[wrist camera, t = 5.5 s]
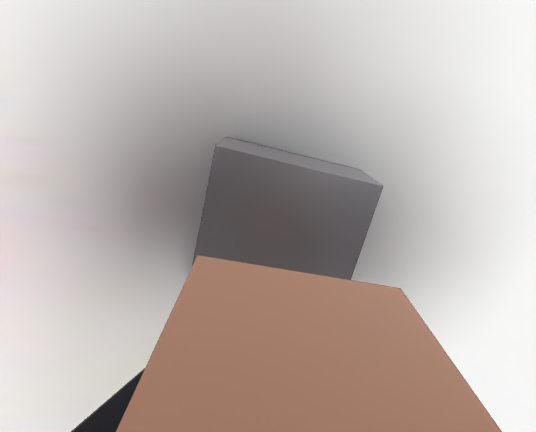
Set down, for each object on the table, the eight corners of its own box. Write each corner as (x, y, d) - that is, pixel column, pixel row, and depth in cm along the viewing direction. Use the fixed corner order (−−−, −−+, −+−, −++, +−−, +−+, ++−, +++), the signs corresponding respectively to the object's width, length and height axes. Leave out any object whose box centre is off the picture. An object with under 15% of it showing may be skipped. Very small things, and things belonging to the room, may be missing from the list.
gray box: (316, 300, 21) (327, 345, 17) (198, 275, 20) (182, 315, 16) (358, 168, 18) (383, 186, 14) (226, 136, 18) (215, 145, 14)
